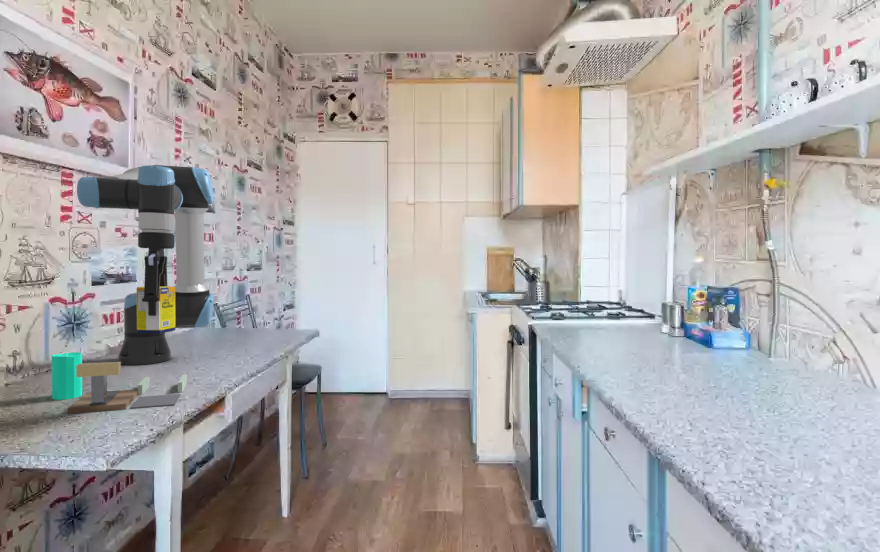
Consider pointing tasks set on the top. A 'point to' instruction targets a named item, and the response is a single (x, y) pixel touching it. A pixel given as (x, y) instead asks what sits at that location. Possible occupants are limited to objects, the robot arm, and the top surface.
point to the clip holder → (146, 383)
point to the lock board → (113, 402)
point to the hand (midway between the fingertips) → (156, 326)
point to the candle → (66, 376)
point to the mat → (156, 401)
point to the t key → (98, 377)
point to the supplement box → (165, 310)
